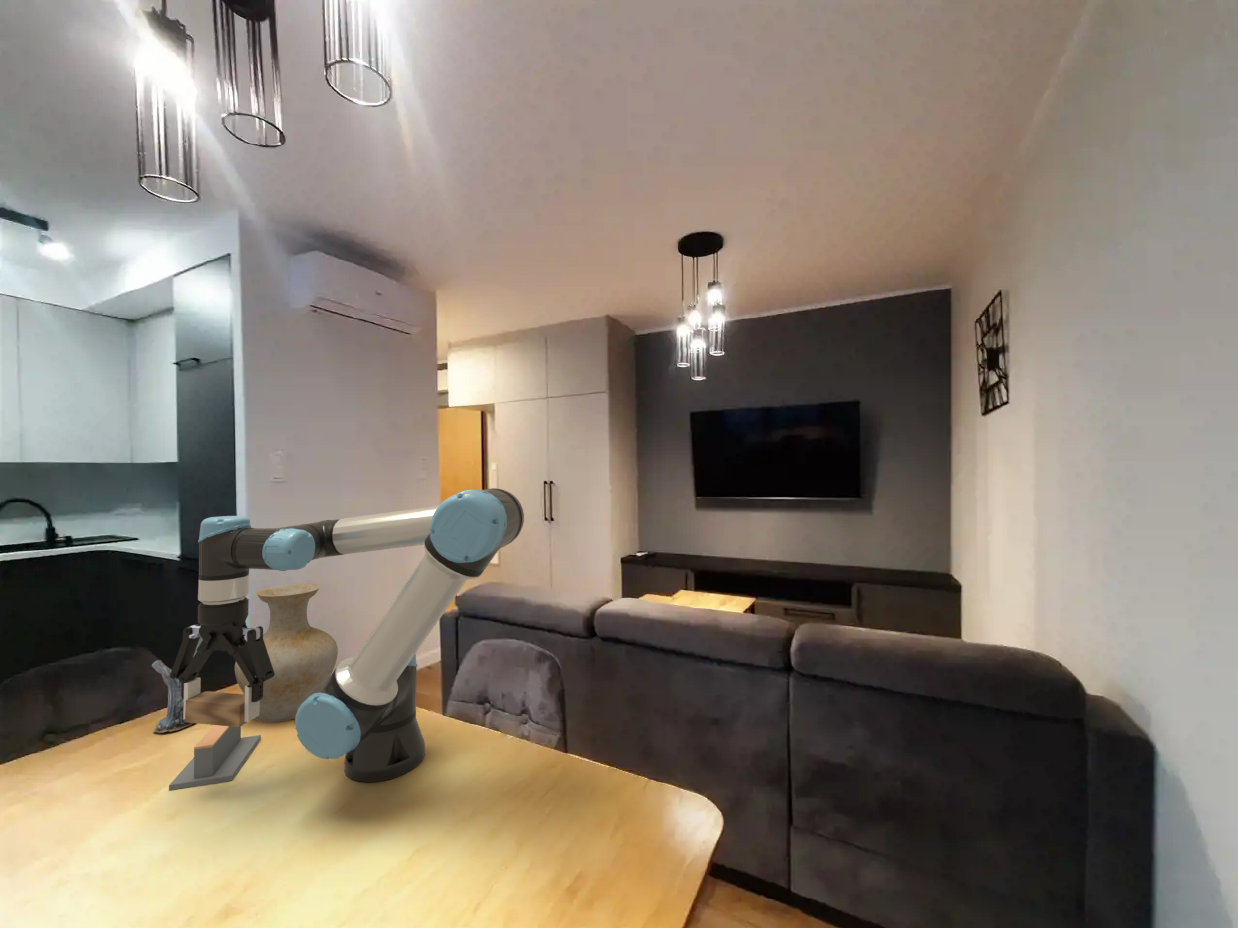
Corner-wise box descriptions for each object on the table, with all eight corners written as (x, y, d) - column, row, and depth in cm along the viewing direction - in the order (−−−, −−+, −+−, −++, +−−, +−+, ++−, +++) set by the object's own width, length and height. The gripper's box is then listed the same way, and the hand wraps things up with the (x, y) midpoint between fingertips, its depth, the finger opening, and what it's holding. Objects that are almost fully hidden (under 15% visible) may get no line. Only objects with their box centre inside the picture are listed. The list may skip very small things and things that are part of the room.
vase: (254, 695, 137) (254, 583, 138) (345, 685, 144) (345, 578, 144) (217, 736, 117) (218, 603, 117) (326, 722, 123) (327, 596, 123)
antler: (164, 737, 116) (165, 626, 116) (144, 730, 119) (145, 622, 119) (220, 714, 127) (221, 612, 127) (200, 709, 130) (201, 609, 130)
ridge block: (260, 739, 115) (261, 707, 115) (231, 780, 100) (232, 744, 100) (207, 746, 112) (207, 714, 112) (168, 790, 97) (169, 753, 97)
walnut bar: (257, 716, 97) (257, 695, 97) (239, 727, 93) (239, 705, 93) (204, 711, 99) (205, 691, 99) (184, 722, 95) (185, 700, 95)
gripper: (298, 596, 99) (296, 710, 99) (183, 592, 101) (180, 704, 101) (269, 606, 92) (266, 730, 92) (145, 602, 93) (142, 723, 93)
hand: (221, 716), depth 96 cm, fingers closed on walnut bar, 11 cm apart
